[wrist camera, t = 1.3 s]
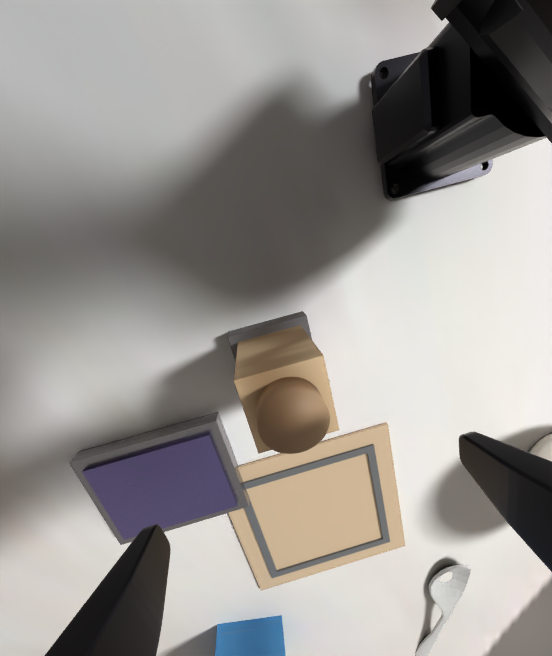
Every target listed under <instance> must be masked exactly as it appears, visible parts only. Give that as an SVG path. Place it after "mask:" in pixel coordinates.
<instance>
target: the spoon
mask: <svg viewBox="0 0 552 656" xmlns="http://www.w3.org/2000/svg"><path fill="white" fill-rule="evenodd" d="M448 571H449V572H453V575H452V579H451V580H450V581H447V582H440V581H439V579H440V577H441V575H443V574H444V573H446V572H448ZM469 575H470V567H469V566H468V565H466V564H459V565H454V566H450V567H446V568H444V569H442V570H441V571H440V572H438V573H437V574H436V575H435V576H434V577H433V578H432V580H431V582H430V584H429V593H430V595H431V597H432V599H433V600H434V601H435V602H436V604H437V605H438V606H439V607H440V609H441V611H442V615H441V618H440V619H439V621H438V622H437V624H436V625H435V627H434V629H433V630H432V632H431V633H430V634H429V635H428V636H427V637H426V638H425V639H424V640H423V641H422V642H421V643H420V644H419V646H418V649H417V651H416V653H415V656H428V655H429V654H430V652H431V649H432V647H433V645H434V643H435V641H436V639H437V637H438V635H439V633H440V632H441V630H442V628H443V626H444V624H445V623H446V622H447V620H448V619H449V618H450V616H451V614H452V612H453V610H454V608H455V606H456V604H457V602H458V601H459V599H460V597H461V595H462V594H463V592H464V589H465V587H466V584H467V581H468V578H469Z"/></svg>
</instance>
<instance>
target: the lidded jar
mask: <svg viewBox="0 0 552 656" xmlns="http://www.w3.org/2000/svg"><path fill="white" fill-rule="evenodd" d="M529 453H532V454H534V455H537V456H539V457H542V458H544V459H547V460H550V461H552V433H550V434H548V435H546V436H545V437H543V438H542V439H540V440H539V441H538V442H537V443H536V444H535V445H534V446H533V447H532V448H531V450H530V451H529Z"/></svg>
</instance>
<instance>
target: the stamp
mask: <svg viewBox="0 0 552 656" xmlns="http://www.w3.org/2000/svg"><path fill="white" fill-rule="evenodd" d="M228 340H229V343H230V346H231V349H232V352H233V355H234V358H235V361H236V365H235V374H234V383H235V386H236V388H237V391H238V394H239V397H240V400H241V403H242V406H243V409H244V412H245V415H246V418H247V421H248V424H249V427H250V430H251V433H252V435H253V438H254V441H255V444H256V447H257V450H258V453H262V452H266V451H269V450H274V451H277V452H280V453H284V454H296V453H301V452H304V451H307V450H309V449H311V448H313V447H314V446H316V445H317V444H318V443H319V442H320V441H321V440H322V439H323V438H324V436H325V435H326V434H327V433H331V432H334V431H338V430H339V426H338V422H337V417H336V412H335V408H334V403H333V398H332V393H331V389H330V384H329V379H328V375H327V370H326V365H325V361H324V356H323V354H322V353H321V352H320V350H319V349H318V348H317V346H316V345H315V344H314V342H313V341H312V338H311V334H310V329H309V325H308V320H307V316H306V314H305V313H304V312H303V311H302V312H298V313H294V314H291V315H287V316H284V317H280V318H276V319H273V320H269V321H265V322H262V323H258V324H254V325H251V326H247V327H244V328H240V329H236V330H233V331H229V333H228Z"/></svg>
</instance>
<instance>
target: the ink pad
mask: <svg viewBox="0 0 552 656" xmlns="http://www.w3.org/2000/svg"><path fill="white" fill-rule="evenodd" d="M70 465H71V467H72V468H73V470H74V471H75V473H76V475H77V476H78V478H79V479H80V481H81V483H82V484H83V486H84V487H85V489H86V491H87V492H88V494H89V495H90V497H91V498H92V500H93V502H94V503H95V505H96V506H97V508H98V510H99V511H100V513H101V514H102V516H103V518H104V519H105V521H106V522H107V524H108V526H109V527H110V529H111V530H112V532H113V534H114V535H115V537H116V538H117V540H118V541H119V543H120V545H122V544H125V543H129V542H132V541H133V540H134V539H135V538H136V536H137V535H138V534H139V532H140V531H141V530H142V529H143V528H145V527H148V526H152V525H155V524H158V525H160V527H161V528H162V530H163V532H165V531H169V530H172V529H176V528H179V527H182V526H186V525H189V524H192V523H196V522H199V521H202V520H206V519H209V518H212V517H216V516H219V515H222V514H226V513H229V512H232V511H236V510H239V509H242V508H246V507H249V497H248V495H247V492H246V489H245V487H244V484H243V480H242V477H241V474H240V472H239V469H238V464H237V461H236V459H235V456H234V453H233V451H232V448H231V445H230V443H229V440H228V438H227V435H226V432H225V430H224V427H223V424H222V422H221V419H220V416H219V414H218V412H217V413H214V414H210V415H207V416H203V417H200V418H196V419H193V420H189V421H186V422H182V423H179V424H175V425H172V426H168V427H165V428H161V429H158V430H154V431H151V432H147V433H144V434H140V435H137V436H133V437H130V438H126V439H123V440H119V441H116V442H112V443H108V444H105V445H101V446H98V447H94V448H91V449H87V450H84V451H80V452H78V454H77V455H76V456H75V457H74V458H73V459H72V461H71V462H70Z"/></svg>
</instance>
